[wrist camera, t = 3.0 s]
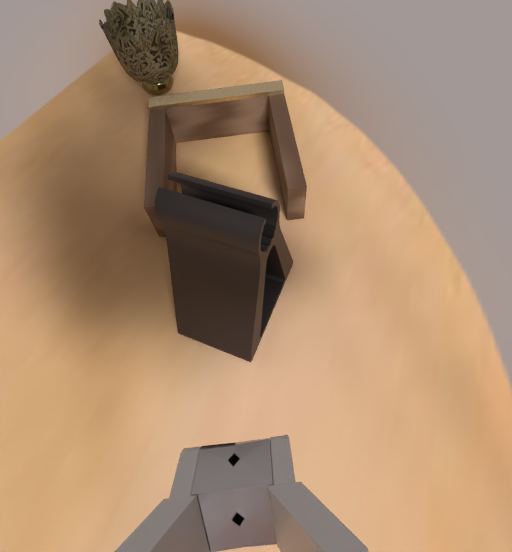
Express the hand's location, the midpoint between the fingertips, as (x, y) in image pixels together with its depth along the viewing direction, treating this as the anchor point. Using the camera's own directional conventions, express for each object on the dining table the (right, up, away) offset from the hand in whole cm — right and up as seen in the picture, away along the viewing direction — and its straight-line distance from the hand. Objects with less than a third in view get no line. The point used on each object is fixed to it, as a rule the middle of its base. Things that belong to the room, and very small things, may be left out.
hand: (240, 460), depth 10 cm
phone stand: (-1, +3, +18) cm, 19 cm away
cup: (-11, +28, +33) cm, 44 cm away
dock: (-2, +15, +25) cm, 29 cm away
